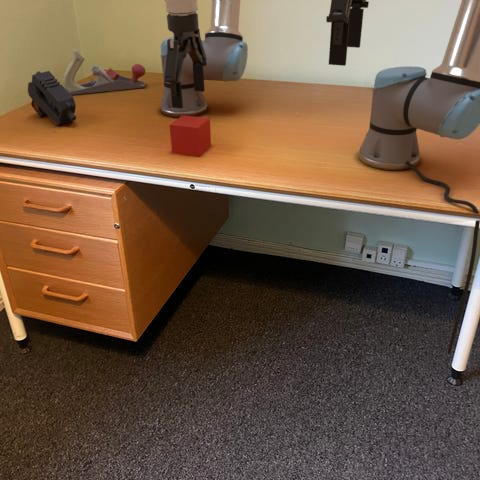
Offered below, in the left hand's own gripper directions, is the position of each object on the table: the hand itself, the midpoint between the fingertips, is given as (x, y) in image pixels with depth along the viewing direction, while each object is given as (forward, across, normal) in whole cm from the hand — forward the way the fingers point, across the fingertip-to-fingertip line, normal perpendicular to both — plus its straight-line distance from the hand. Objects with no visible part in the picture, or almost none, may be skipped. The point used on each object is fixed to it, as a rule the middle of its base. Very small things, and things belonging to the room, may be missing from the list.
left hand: (189, 99), depth 140 cm
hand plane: (+16, -42, -55) cm, 71 cm away
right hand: (-21, +29, +45) cm, 58 cm away
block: (+14, +1, 0) cm, 14 cm away
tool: (+14, -8, -52) cm, 54 cm away
